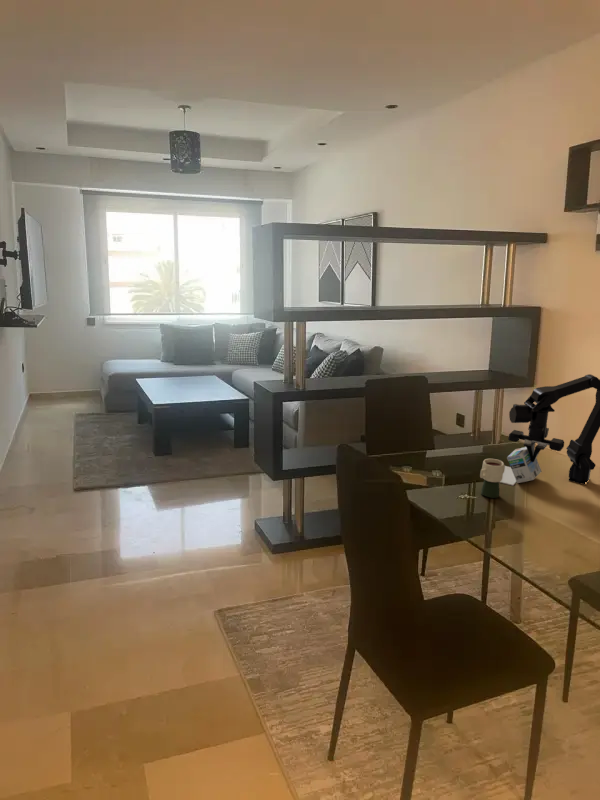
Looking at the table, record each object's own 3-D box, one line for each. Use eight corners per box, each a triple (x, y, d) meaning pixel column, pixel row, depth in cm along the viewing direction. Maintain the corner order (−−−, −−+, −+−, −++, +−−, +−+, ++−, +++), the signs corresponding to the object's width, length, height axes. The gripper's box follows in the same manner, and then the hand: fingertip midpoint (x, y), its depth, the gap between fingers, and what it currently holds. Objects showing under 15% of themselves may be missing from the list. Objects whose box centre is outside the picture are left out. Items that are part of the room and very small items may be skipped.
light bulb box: (533, 480, 221) (522, 453, 221) (516, 483, 225) (505, 457, 225) (542, 471, 229) (531, 444, 229) (525, 474, 233) (515, 448, 233)
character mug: (494, 488, 221) (497, 456, 217) (508, 496, 215) (512, 463, 211) (471, 494, 216) (474, 461, 212) (485, 502, 210) (489, 468, 206)
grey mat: (525, 471, 236) (525, 470, 235) (513, 485, 223) (513, 484, 223) (495, 464, 242) (495, 463, 242) (481, 477, 230) (481, 476, 230)
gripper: (570, 421, 221) (564, 460, 226) (519, 412, 231) (514, 449, 236) (563, 429, 212) (557, 470, 217) (510, 419, 223) (505, 458, 227)
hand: (533, 461), depth 224 cm, fingers closed
